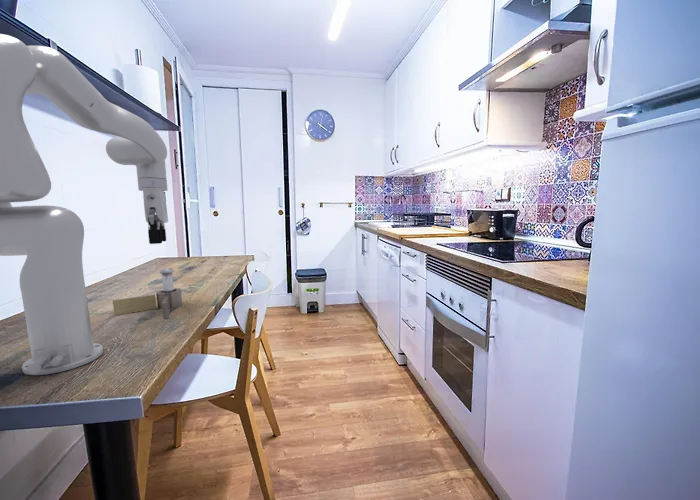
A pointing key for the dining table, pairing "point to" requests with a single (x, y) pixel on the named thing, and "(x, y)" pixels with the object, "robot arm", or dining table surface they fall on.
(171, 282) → the pin
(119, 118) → the robot arm
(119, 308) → the hinge leaf
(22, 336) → the dining table surface
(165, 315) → the hinge leaf
